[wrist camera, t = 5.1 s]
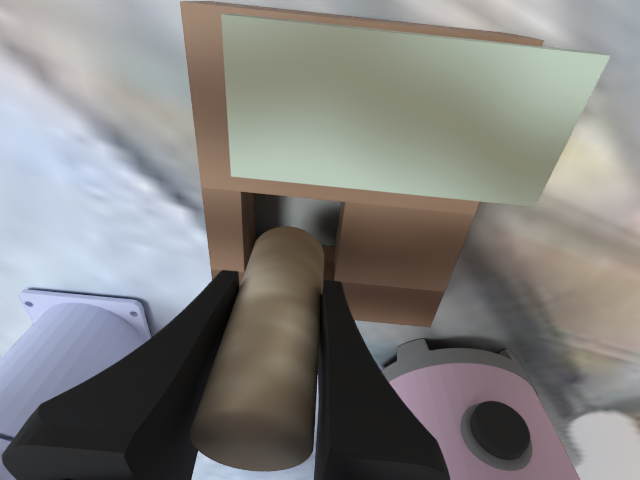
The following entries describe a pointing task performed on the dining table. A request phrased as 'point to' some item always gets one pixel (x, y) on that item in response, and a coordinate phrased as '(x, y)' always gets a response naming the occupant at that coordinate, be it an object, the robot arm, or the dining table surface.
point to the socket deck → (368, 222)
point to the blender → (480, 413)
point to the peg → (267, 360)
